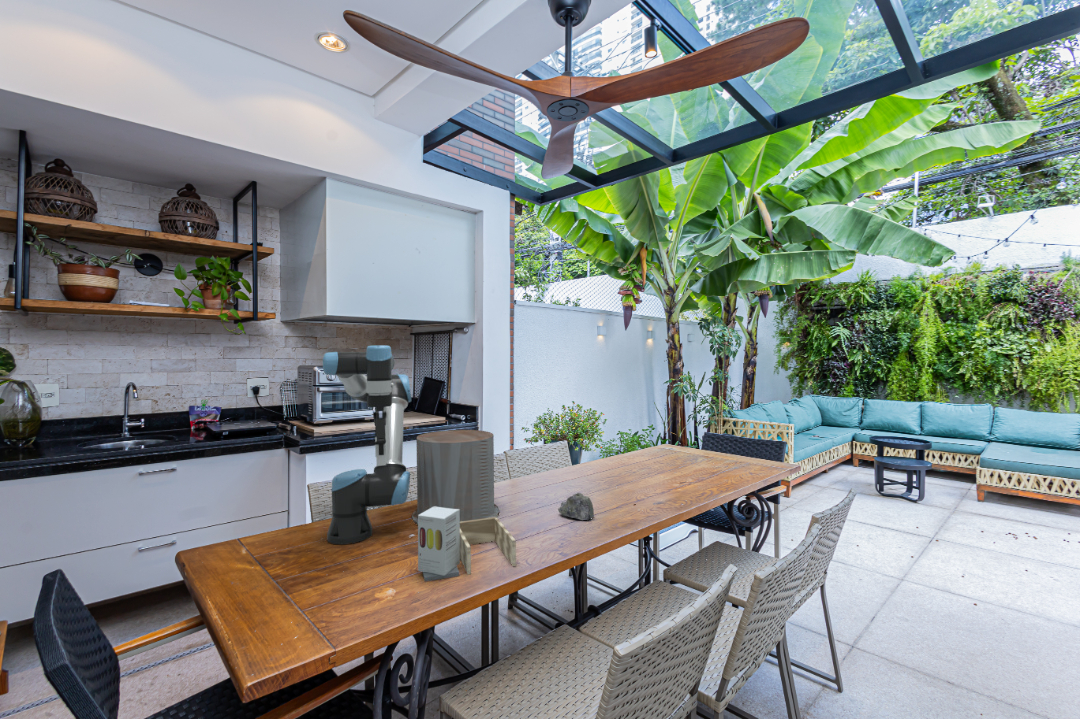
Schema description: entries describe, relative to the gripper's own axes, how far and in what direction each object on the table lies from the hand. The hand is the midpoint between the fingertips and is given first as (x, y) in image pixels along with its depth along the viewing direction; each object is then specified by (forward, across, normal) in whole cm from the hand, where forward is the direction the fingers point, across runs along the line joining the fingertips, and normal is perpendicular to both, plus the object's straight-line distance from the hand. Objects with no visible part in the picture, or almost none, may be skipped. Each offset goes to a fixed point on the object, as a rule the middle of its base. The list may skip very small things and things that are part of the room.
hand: (380, 460), depth 154 cm
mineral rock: (+32, +14, -74) cm, 82 cm away
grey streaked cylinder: (+32, +34, -30) cm, 55 cm away
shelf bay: (+32, -8, -31) cm, 45 cm away
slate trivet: (+32, -15, -16) cm, 39 cm away
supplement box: (+31, -15, -16) cm, 38 cm away
